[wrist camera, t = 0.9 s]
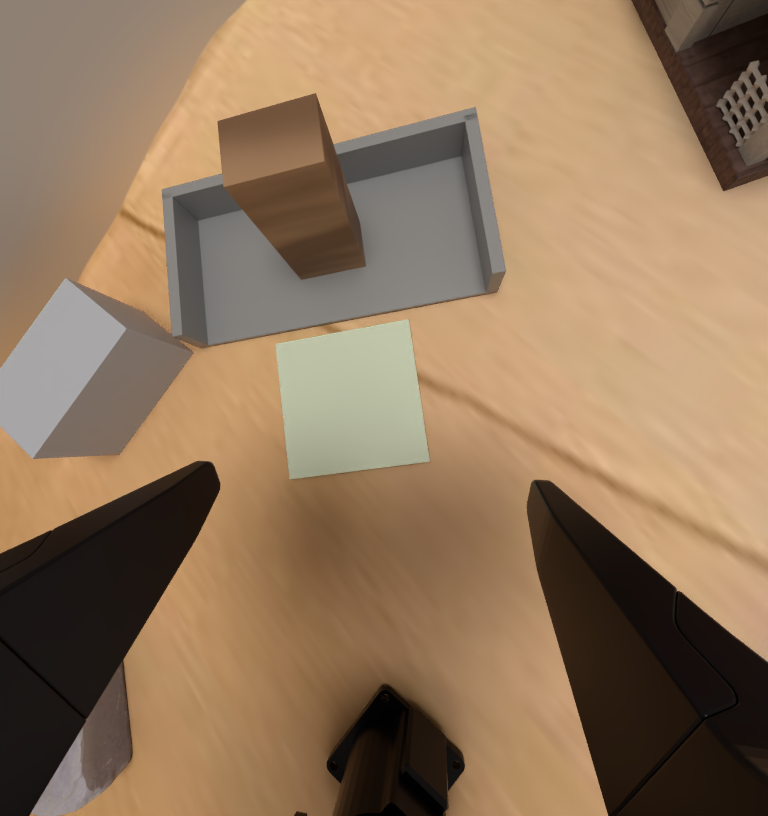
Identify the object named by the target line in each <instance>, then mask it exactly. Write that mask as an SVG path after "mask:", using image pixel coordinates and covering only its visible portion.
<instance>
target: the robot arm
mask: <svg viewBox="0 0 768 816" xmlns="http://www.w3.org/2000/svg"><path fill="white" fill-rule="evenodd" d="M219 491H220V481H219V478H218V475H217V472H216V470H215V467H214V465H213V463H212V462H209V461H196V462H194V463H192V464H190V465H188V466H185V467H183V468H181V469H179V470H177V471H175V472H173V473H171V474H169V475H166V476H164V477H162V478H160V479H158V480H156V481H154V482H152V483H150V484H147V485H145V486H143V487H141V488H139V489H137V490H135V491H133V492H131V493H128V494H126V495H124V496H122V497H120V498H118V499H116V500H114V501H112V502H109V503H107V504H105V505H103V506H101V507H99V508H97V509H95V510H93V511H90V512H88V513H86V514H84V515H82V516H80V517H78V518H76V519H74V520H71V521H69V522H67V523H65V524H63V525H61V526H59V527H57V528H55V529H54V530H53V531H48V532H46V533H44V534H42V535H40V536H37V537H35V538H33V539H31V540H29V541H27V542H25V543H22V544H20V545H18V546H16V547H14V548H12V549H9V550H7V551H5V552H3V553H1V554H0V816H29V815H30V814H31V812H32V810H33V809H34V807H35V805H36V804H37V802H38V800H39V799H40V797H41V795H42V794H43V792H44V791H45V789H46V787H47V786H48V784H49V782H50V781H51V779H52V777H53V776H54V774H55V772H56V771H57V769H58V767H59V766H60V764H61V762H62V761H63V759H64V757H65V756H66V754H67V752H68V751H69V749H70V747H71V746H72V744H73V742H74V741H75V739H76V737H77V736H78V734H79V733H80V731H81V729H82V728H83V726H84V724H85V723H86V719H87V718H88V717H89V716H90V714H91V712H92V711H93V709H94V707H95V706H96V704H97V702H98V701H99V699H100V697H101V696H102V694H103V692H104V691H105V689H106V687H107V686H108V684H109V682H110V681H111V679H112V677H113V676H114V674H115V672H116V671H117V669H118V668H119V666H120V664H121V663H122V661H123V659H124V658H125V656H126V654H127V653H128V651H129V649H130V648H131V646H132V644H133V643H134V641H135V639H136V638H137V636H138V634H139V633H140V631H141V629H142V628H143V626H144V624H145V623H146V621H147V620H148V618H149V616H150V615H151V613H152V611H153V610H154V608H155V606H156V605H157V603H158V601H159V600H160V598H161V596H162V595H163V593H164V591H165V590H166V588H167V586H168V585H169V583H170V581H171V580H172V578H173V577H174V575H175V573H176V572H177V570H178V568H179V567H180V565H181V563H182V562H183V560H184V558H185V557H186V555H187V553H188V552H189V550H190V548H191V547H192V545H193V543H194V542H195V540H196V538H197V536H198V534H199V532H200V530H201V528H202V526H203V524H204V522H205V520H206V518H207V516H208V514H209V512H210V510H211V508H212V506H213V503H214V501H215V499H216V497H217V495H218V493H219ZM527 515H528V521H529V527H530V532H531V538H532V544H533V550H534V556H535V562H536V567H537V571H538V575H539V579H540V582H541V586H542V589H543V593H544V596H545V600H546V603H547V606H548V610H549V613H550V617H551V620H552V624H553V627H554V631H555V634H556V637H557V641H558V644H559V648H560V651H561V655H562V658H563V661H564V665H565V668H566V672H567V675H568V679H569V682H570V685H571V689H572V692H573V696H574V699H575V703H576V706H577V710H578V713H579V716H580V720H581V723H582V727H583V730H584V734H585V737H586V740H587V744H588V747H589V751H590V754H591V758H592V761H593V764H594V768H595V771H596V775H597V778H598V782H599V785H600V789H601V792H602V795H603V799H604V802H605V806H606V809H607V813H608V816H768V662H767V661H766V660H765V659H763V658H762V657H761V656H759V655H758V654H757V653H756V652H754V651H753V650H752V649H750V648H749V647H748V646H747V645H745V644H744V643H743V642H741V641H740V640H739V639H738V638H736V637H735V636H734V635H732V634H731V633H730V632H729V631H727V630H726V629H725V628H724V627H723V626H721V625H720V624H719V623H718V622H716V621H715V620H714V619H713V618H712V617H710V616H709V615H708V614H707V613H706V612H704V611H703V610H702V609H701V608H699V607H698V606H697V605H696V604H695V603H694V602H692V601H691V600H690V599H689V598H688V597H687V596H685V595H684V594H683V593H682V592H680V591H677V589H676V587H675V586H673V585H672V584H671V583H670V582H669V581H668V580H666V579H665V578H664V577H663V576H662V575H660V574H659V573H658V572H657V571H656V570H655V569H653V568H652V567H651V566H650V565H649V564H648V563H646V562H645V561H644V560H643V559H642V558H640V557H639V556H638V555H637V554H636V553H635V552H633V551H632V550H631V549H630V548H629V547H628V546H626V545H625V544H624V543H623V542H622V541H621V540H619V539H618V538H617V537H616V536H615V535H613V534H612V533H611V532H610V531H609V530H608V529H606V528H605V527H604V526H603V525H602V524H601V523H599V522H598V521H597V520H596V519H595V518H593V517H592V516H591V515H590V514H589V513H588V512H586V511H585V510H584V509H583V508H582V507H581V506H579V505H578V504H577V503H576V502H575V501H573V500H572V499H571V498H570V497H569V496H568V495H566V494H565V493H564V492H563V491H562V490H561V489H559V488H558V487H557V486H556V485H555V484H554V483H552V482H551V481H548V480H534V481H532V483H531V487H530V492H529V497H528V501H527ZM384 694H387V695H388V696H389V697H388V698H385V697H384V696H383V695H384ZM455 760H457V761H459V763H454V762H453V761H455ZM333 762H336V763H337V764H334V763H333ZM327 769H328V771H329V772H330V773H331V774H332V775H333V776H334V777H335V778H336V779H337V780H338V781H339V782H340V783H341V786H340V790H339V793H338V797H337V801H336V804H335V808H334V812H333V816H446V811H447V810H448V807H449V804H448V790H449V789H450V788H451V787H452V785H453V784H454V783H455V781H456V780H457V779H458V777H459V776H460V775H461V774H462V772H463V771H464V769H465V763H464V757H463V755H462V753H461V752H460V751H459V750H458V749H457V748H455V747H454V746H453V745H452V744H451V743H450V742H449V741H448V740H447V739H446V738H445V735H444V734H443V733H441V732H440V731H439V730H438V729H437V728H436V727H435V726H434V725H433V724H432V723H431V722H430V721H429V720H427V719H426V718H425V717H424V716H423V715H422V714H421V713H420V712H419V711H418V710H417V709H416V708H414V707H411V706H410V705H409V704H408V703H407V702H406V701H405V700H404V699H403V698H401V697H400V696H399V695H398V694H397V693H396V692H395V691H394V690H393V689H392V688H391V687H389V686H382V687H381V688H380V689H379V690H378V692H377V693H376V694H375V696H374V697H373V698H372V700H371V701H370V702H369V704H368V705H367V706H366V708H365V709H364V710H363V712H362V713H361V714H360V715H359V717H358V718H357V719H356V721H355V722H354V723H353V725H352V726H351V727H350V729H349V730H348V731H347V733H346V734H345V735H344V737H343V738H342V739H341V741H340V742H339V743H338V744H337V746H336V747H335V748H334V750H333V751H332V752H331V754H330V756H329V758H328V761H327ZM294 816H307V813H303V812H298V811H297V812H296V813H295V815H294Z"/></svg>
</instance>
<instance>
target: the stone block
mask: <svg viewBox="0 0 768 816" xmlns="http://www.w3.org/2000/svg"><path fill="white" fill-rule="evenodd" d="M131 756H132V741H131V732H130V722H129V714H128V705H127V696H126V686H125V678H124V666H123V662H122V663H121V664H120V666H119V668H118V669H117V671H116V672H115V674H114V676H113V677H112V679H111V681H110V682H109V684H108V686H107V687H106V689H105V691H104V692H103V694H102V696H101V697H100V699H99V701H98V702H97V704H96V706H95V707H94V709H93V711H92V712H91V714H90V716H89V717H88V718H87V719H86V723H85V724H84V726H83V728H82V729H81V731H80V733H79V734H78V736H77V737H76V739H75V741H74V742H73V744H72V746H71V747H70V749H69V751H68V752H67V754H66V756H65V757H64V759H63V761H62V762H61V764H60V766H59V767H58V769H57V771H56V772H55V774H54V776H53V777H52V779H51V781H50V782H49V784H48V786H47V787H46V789H45V791H44V792H43V794H42V795H41V797H40V799H39V800H38V802H37V804H36V805H35V807H34V809H33V810H32V812H31V813H32V814H35V815H37V816H44V815H47V816H59V815H63V814H67V813H69V812H74V811H77V810H78V809H80V808H82V807H83V806H84V805H86V804H87V803H89V802H90V801H91V800H93V799H94V798H95V797H97V796H98V795H99V794H101V793H102V792H103V791H105V790H106V789H107V788H108V787H109V786H110V785H111V784H112V782H113V781H114V780H115V778H116V777H117V776H118V775H119V774H120V773H121V772H122V770H123V769H124V768H125V767H126V765H127V764H128V762H129V760H130V758H131Z"/></svg>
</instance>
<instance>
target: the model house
mask: <svg viewBox="0 0 768 816" xmlns="http://www.w3.org/2000/svg"><path fill="white" fill-rule="evenodd" d="M632 2H633V4H634V6H635V8H636V10H637V12H638V14H639V16H640V19H641V21H642V23H643V25H644V27H645V29H646V31H647V33H648V35H649V37H650V39H651V41H652V44H653V46H654V48H655V50H656V52H657V54H658V56H659V58H660V60H661V62H662V64H663V66H664V68H665V71H666V73H667V75H668V77H669V79H670V81H671V83H672V85H673V87H674V89H675V91H676V93H677V95H678V98H679V100H680V102H681V104H682V106H683V108H684V110H685V112H686V114H687V116H688V118H689V120H690V122H691V125H692V127H693V129H694V131H695V133H696V135H697V137H698V139H699V141H700V143H701V145H702V147H703V149H704V152H705V154H706V156H707V158H708V160H709V162H710V164H711V166H712V168H713V170H714V172H715V174H716V176H717V179H718V181H719V183H720V185H721V187H722V189H723V191H726V190H728V189H731V188H734V187H737V186H740V185H743V184H745V183H748V182H751V181H754V180H757V179H759V178H762V177H765V176H768V0H632Z"/></svg>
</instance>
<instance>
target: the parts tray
mask: <svg viewBox="0 0 768 816" xmlns="http://www.w3.org/2000/svg"><path fill="white" fill-rule="evenodd" d="M333 145H334V148H335V151H336V154H337V157H338V160H339V162H340V165H341V168H342V171H343V174H344V177H345V180H346V183H347V186H348V189H349V192H350V194H351V197H352V200H353V203H354V206H355V209H356V212H357V215H358V218H359V221H360V226H361V233H362V240H363V248H364V255H365V262H366V266H365V267H361V268H356V269H351V270H346V271H342V272H337V273H332V274H327V275H323V276H318V277H313V278H308V279H303V280H301V279H300V278H299V277H298V275H297V274H296V273H295V272H294V271H293V269H292V268H291V267H290V266H289V265H288V263H287V262H286V261H285V260H284V259H283V258H282V256H281V255H280V254H279V253H278V252H277V250H276V249H275V248H274V247H273V246H272V244H271V243H270V242H269V241H268V240H267V238H266V237H265V236H264V235H263V234H262V232H261V231H260V230H259V229H258V228H257V227H256V225H255V224H254V223H253V222H252V221H251V219H250V218H249V217H248V216H247V215H246V213H245V212H244V211H243V210H242V209H241V207H240V206H239V205H238V204H237V203H236V201H235V200H234V199H233V198H232V197H231V195H230V194H229V193H228V192H227V191H226V190H225V188H224V187H223V176H222V174H219V175H215V176H211V177H207V178H203V179H200V180H196V181H192V182H188V183H184V184H180V185H177V186H173V187H169V188H165V189H162V199H163V213H164V228H165V243H166V257H167V272H168V287H169V301H170V316H171V330H172V337H174V338H177V339H179V340H182V341H184V342H187V343H190V344H192V345H195V346H197V347H200V348H204V347H210V346H215V345H220V344H225V343H231V342H236V341H241V340H246V339H252V338H257V337H262V336H268V335H273V334H278V333H283V332H289V331H294V330H299V329H305V328H310V327H315V326H320V325H326V324H331V323H336V322H342V321H347V320H352V319H357V318H363V317H368V316H373V315H379V314H384V313H389V312H394V311H400V310H405V309H410V308H415V307H421V306H426V305H431V304H437V303H442V302H447V301H452V300H458V299H463V298H468V297H474V296H479V295H484V294H489V293H495V292H497V291H498V289H499V286H500V284H501V282H502V279H503V277H504V275H505V272H506V268H505V262H504V257H503V251H502V246H501V241H500V235H499V230H498V224H497V219H496V214H495V208H494V203H493V197H492V192H491V187H490V181H489V176H488V170H487V165H486V160H485V154H484V149H483V143H482V138H481V132H480V127H479V122H478V116H477V111H476V107H474V108H470V109H466V110H462V111H459V112H455V113H451V114H447V115H443V116H440V117H436V118H432V119H428V120H424V121H421V122H417V123H413V124H409V125H405V126H402V127H398V128H394V129H390V130H386V131H382V132H379V133H375V134H371V135H367V136H363V137H360V138H356V139H352V140H348V141H344V142H341V143H337V144H333Z"/></svg>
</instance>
